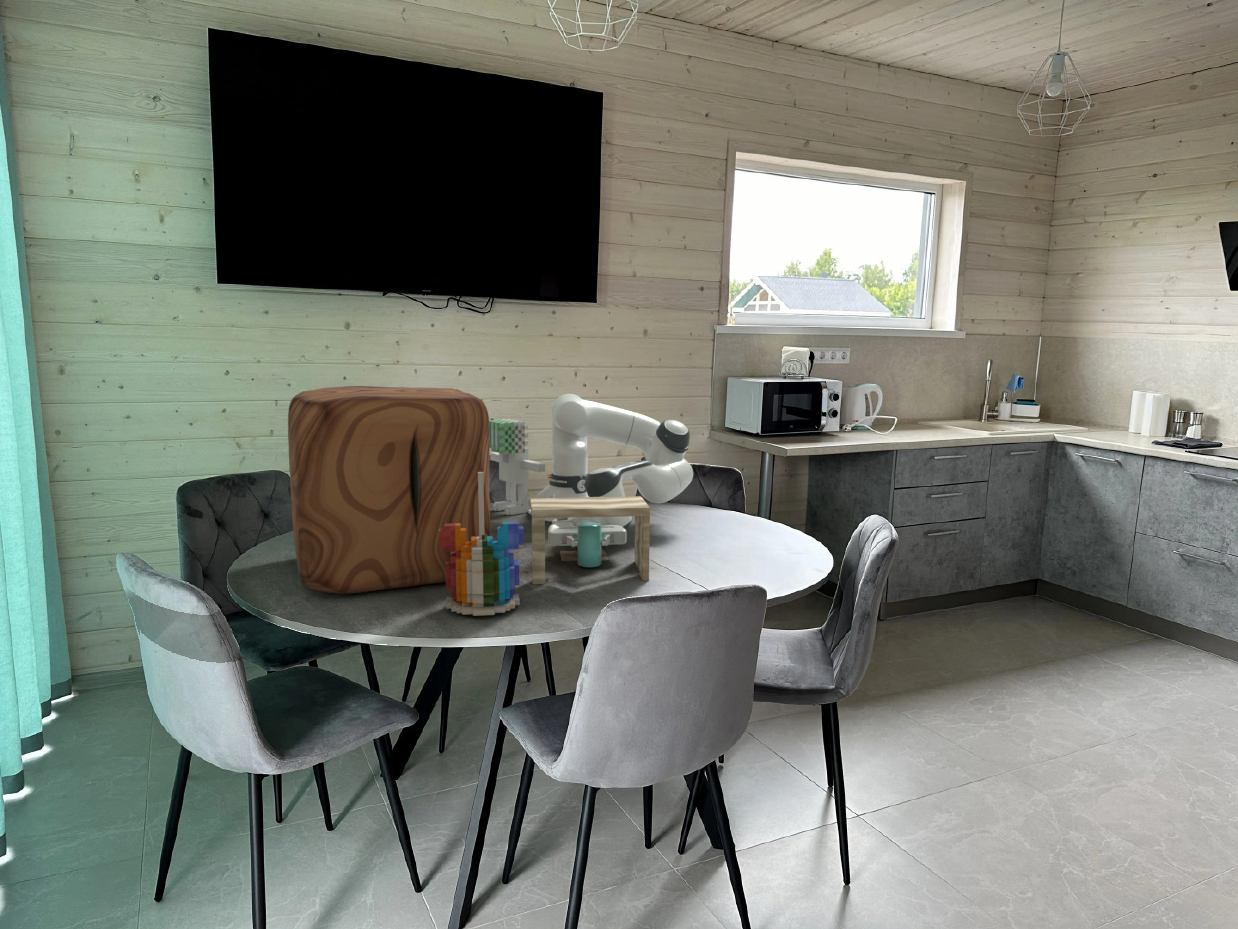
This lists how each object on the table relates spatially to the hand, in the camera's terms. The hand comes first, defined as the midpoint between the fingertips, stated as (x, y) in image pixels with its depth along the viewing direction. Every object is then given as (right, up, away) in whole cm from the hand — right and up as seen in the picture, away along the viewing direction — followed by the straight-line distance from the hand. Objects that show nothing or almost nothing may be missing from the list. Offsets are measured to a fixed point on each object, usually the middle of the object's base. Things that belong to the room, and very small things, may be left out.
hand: (589, 543), depth 218 cm
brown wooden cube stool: (-50, -7, +2) cm, 51 cm away
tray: (-2, -5, +12) cm, 13 cm away
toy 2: (-29, +4, +69) cm, 75 cm away
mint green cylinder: (0, -5, +2) cm, 6 cm away
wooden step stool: (0, -7, -2) cm, 8 cm away
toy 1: (-22, -12, -28) cm, 38 cm away
